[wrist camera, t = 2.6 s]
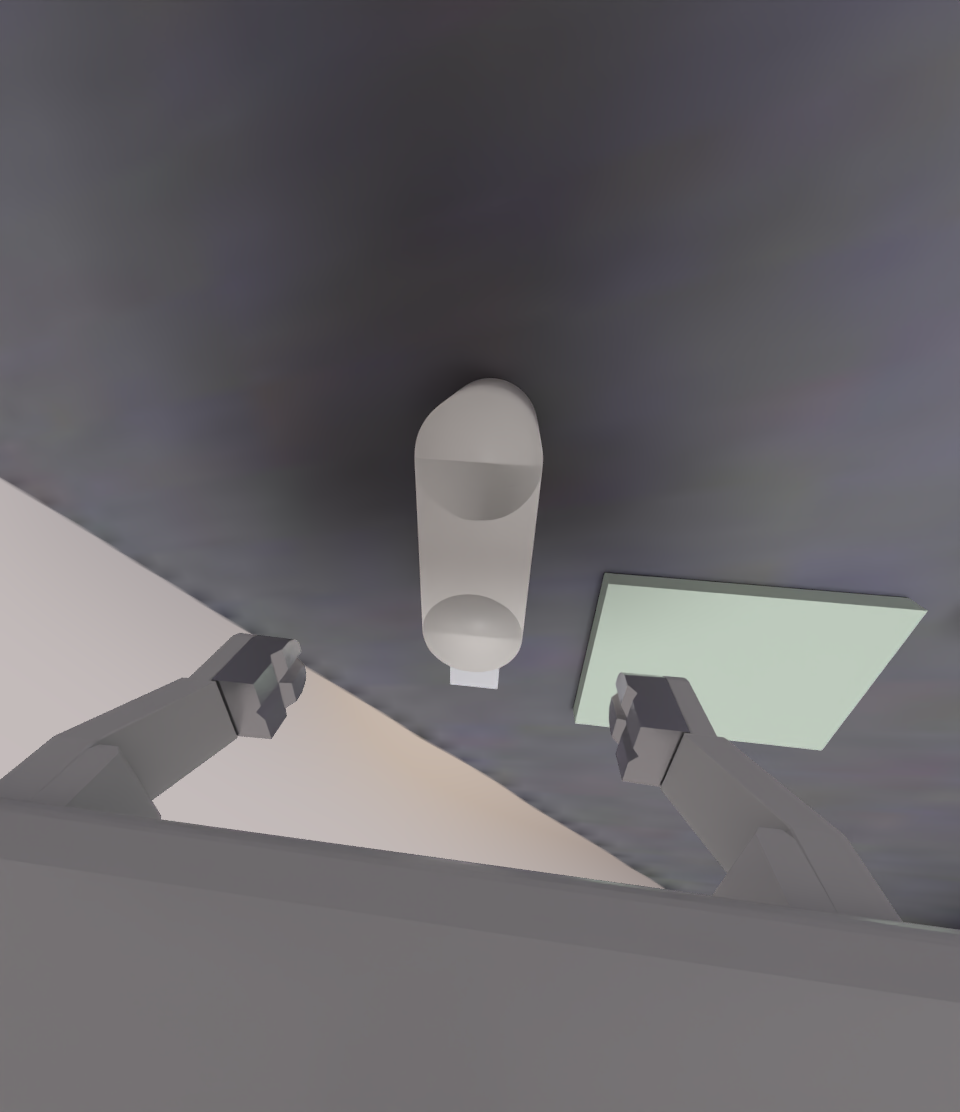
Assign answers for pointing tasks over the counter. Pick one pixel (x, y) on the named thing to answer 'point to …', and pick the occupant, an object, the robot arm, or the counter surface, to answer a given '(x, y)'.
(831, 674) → the green mat
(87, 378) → the counter surface
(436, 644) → the connector
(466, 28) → the counter surface
